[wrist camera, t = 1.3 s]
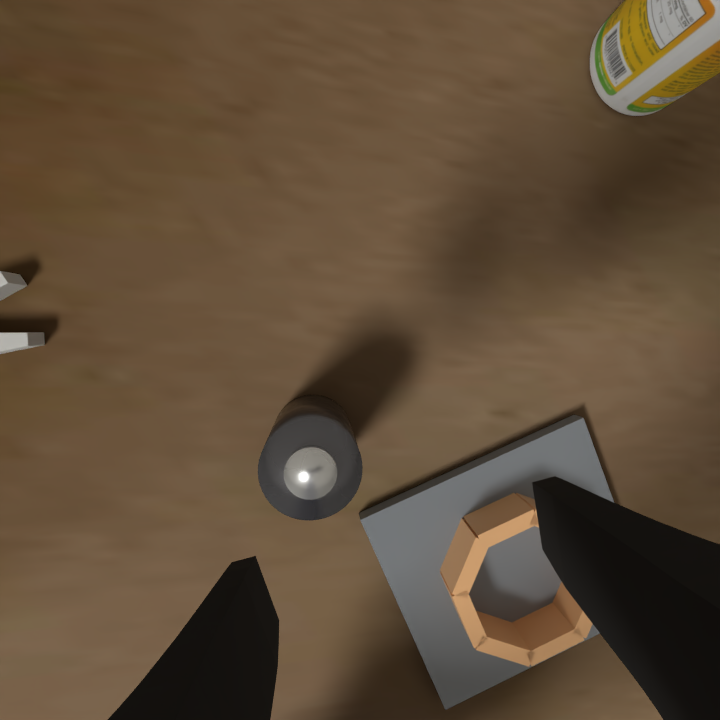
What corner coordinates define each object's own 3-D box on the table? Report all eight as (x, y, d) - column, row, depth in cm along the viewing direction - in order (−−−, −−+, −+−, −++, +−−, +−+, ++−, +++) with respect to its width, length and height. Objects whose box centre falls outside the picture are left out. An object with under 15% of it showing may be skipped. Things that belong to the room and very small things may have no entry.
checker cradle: (441, 696, 23) (457, 746, 21) (359, 512, 22) (364, 539, 19) (641, 598, 24) (683, 633, 21) (574, 414, 23) (609, 426, 20)
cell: (292, 482, 22) (283, 542, 16) (260, 414, 21) (238, 448, 15) (362, 451, 22) (379, 498, 16) (332, 382, 21) (338, 404, 15)
